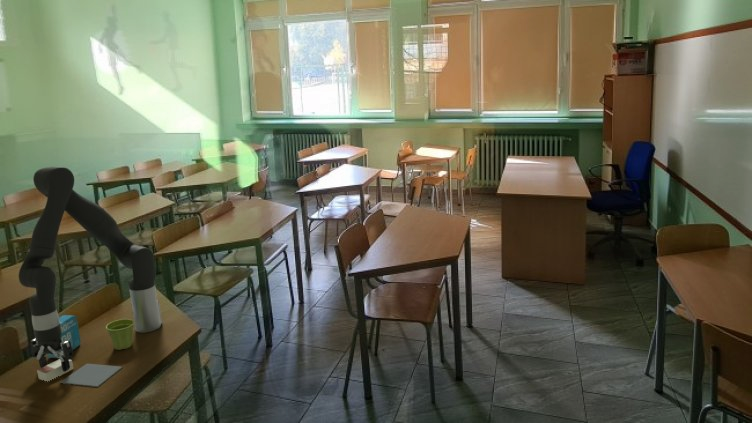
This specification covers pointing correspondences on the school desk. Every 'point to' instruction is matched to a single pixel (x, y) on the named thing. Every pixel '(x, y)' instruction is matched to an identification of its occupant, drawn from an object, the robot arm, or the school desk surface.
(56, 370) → the white rectangular block
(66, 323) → the data package
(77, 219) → the robot arm
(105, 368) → the mat
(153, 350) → the school desk surface
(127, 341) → the plant pot
